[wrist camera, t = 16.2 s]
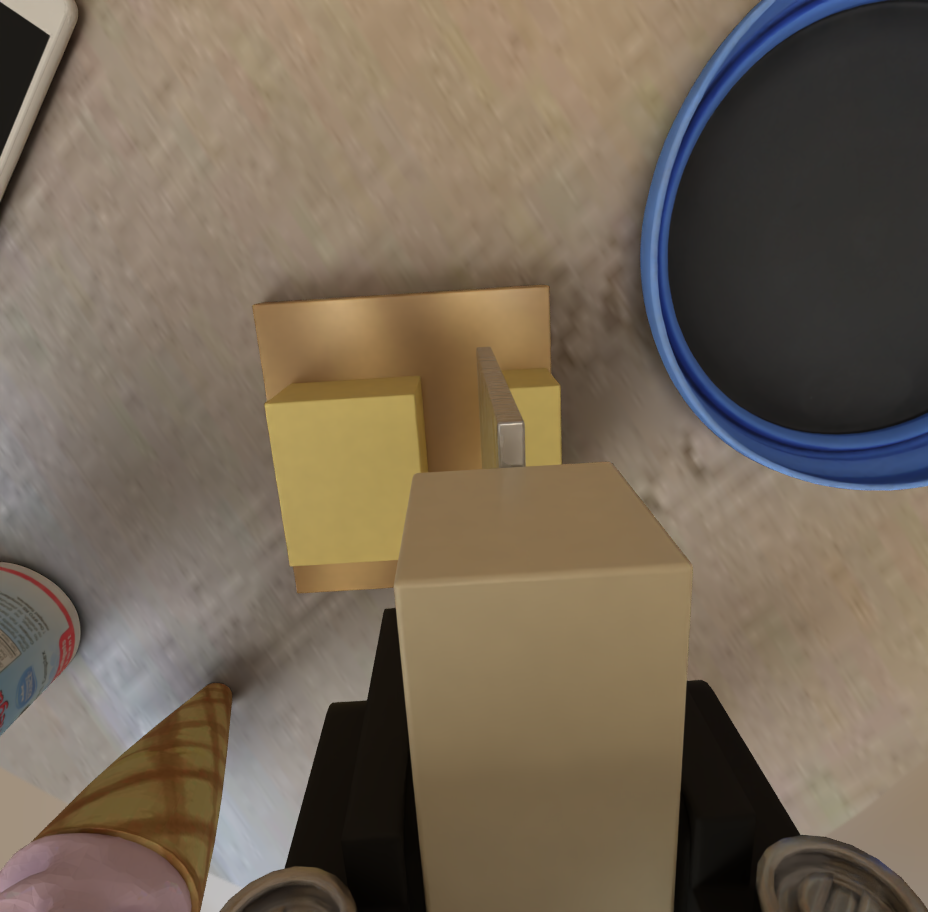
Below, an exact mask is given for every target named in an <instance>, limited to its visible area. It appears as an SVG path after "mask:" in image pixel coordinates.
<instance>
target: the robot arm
mask: <svg viewBox="0 0 928 912" xmlns="http://www.w3.org/2000/svg"><path fill="white" fill-rule="evenodd" d="M220 912H426V905H425V895H424V885H423V875H422V865H421V855H420V845H419V835H418V825H417V815H416V805H415V795H414V785H413V775H412V765H411V755H410V745H409V735H408V725H407V715H406V705H405V695H404V685H403V675H402V665H401V655H400V645H399V635H398V625H397V615H396V608H392V609H385V610H384V613H383V618H382V624H381V629H380V634H379V640H378V645H377V650H376V656H375V661H374V667H373V672H372V677H371V683H370V688H369V693H368V699H367V701H353V702H336V703H332V704H331V705H330V706H329V708H328V711H327V714H326V718H325V721H324V725H323V729H322V732H321V736H320V740H319V743H318V747H317V751H316V755H315V758H314V762H313V766H312V769H311V773H310V777H309V780H308V784H307V788H306V792H305V795H304V799H303V803H302V806H301V810H300V814H299V817H298V821H297V825H296V828H295V832H294V836H293V840H292V843H291V847H290V851H289V854H288V858H287V862H286V865H285V869H282V870H277V871H273V872H271V873H269V874H267V875H265V876H263V877H261V878H259V879H257V880H255V881H253V882H251V883H249V884H248V885H247V886H245V887H244V888H243V889H242V890H240V891H239V892H238V893H237V894H235V895H234V896H233V897H232V898H231V899H230V900H228V902H227V903H226V904H225V905H224V907H223V908H222V909H221V910H220ZM674 912H928V909H927V908H926V906H925V905H924V904H923V902H922V901H921V899H920V898H919V897H918V896H917V895H916V894H915V893H914V891H913V890H912V889H911V888H910V887H909V886H908V885H907V883H906V882H904V880H903V879H902V878H901V877H900V876H899V875H897V874H896V873H895V872H894V871H892V870H891V869H890V868H888V867H887V866H886V865H885V864H883V863H882V862H881V861H880V860H878V859H877V858H875V857H873V856H871V855H869V854H867V853H865V852H864V851H862V850H860V849H858V848H856V847H854V846H852V845H850V844H846V843H843V842H840V841H837V840H833V839H831V838H827V837H820V836H809V835H800V833H799V832H798V830H797V828H796V827H795V825H794V823H793V822H792V820H791V818H790V817H789V815H788V813H787V812H786V810H785V809H784V807H783V805H782V804H781V802H780V800H779V799H778V797H777V795H776V794H775V792H774V790H773V789H772V787H771V785H770V784H769V782H768V780H767V779H766V777H765V775H764V774H763V772H762V771H761V769H760V767H759V766H758V764H757V762H756V761H755V759H754V757H753V756H752V754H751V752H750V751H749V749H748V747H747V746H746V744H745V742H744V741H743V739H742V737H741V736H740V734H739V733H738V731H737V729H736V728H735V726H734V724H733V723H732V721H731V719H730V718H729V716H728V714H727V713H726V711H725V709H724V708H723V706H722V704H721V703H720V701H719V700H718V698H717V696H716V695H715V693H714V691H713V690H712V688H711V687H710V686H709V685H708V683H707V682H705V681H703V680H694V681H687V684H686V702H685V720H684V737H683V755H682V772H681V790H680V808H679V825H678V843H677V860H676V878H675V896H674Z"/></svg>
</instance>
